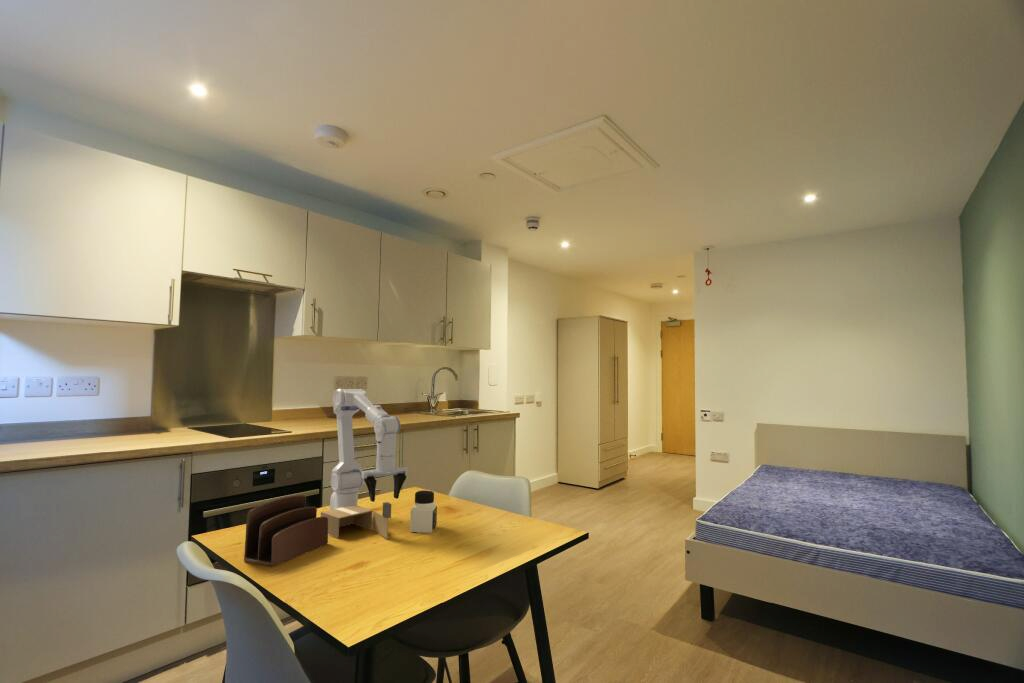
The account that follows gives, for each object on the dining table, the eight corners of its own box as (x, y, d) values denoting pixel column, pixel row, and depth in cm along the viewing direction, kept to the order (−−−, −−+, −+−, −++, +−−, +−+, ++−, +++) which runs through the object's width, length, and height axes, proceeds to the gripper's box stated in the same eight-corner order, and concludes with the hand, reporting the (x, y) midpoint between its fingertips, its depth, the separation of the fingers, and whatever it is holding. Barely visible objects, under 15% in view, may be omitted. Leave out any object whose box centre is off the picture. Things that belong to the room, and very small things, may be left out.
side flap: (386, 538, 145) (387, 505, 146) (372, 529, 155) (373, 497, 156) (391, 537, 146) (392, 504, 147) (377, 528, 156) (378, 497, 156)
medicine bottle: (432, 533, 152) (433, 493, 153) (409, 532, 152) (411, 493, 153) (436, 526, 159) (437, 489, 160) (414, 526, 160) (415, 488, 161)
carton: (319, 531, 152) (320, 511, 153) (354, 523, 161) (354, 504, 162) (337, 538, 146) (338, 517, 146) (371, 529, 155) (372, 509, 156)
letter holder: (242, 562, 127) (246, 506, 128) (301, 539, 145) (304, 491, 146) (271, 568, 123) (274, 510, 124) (328, 544, 141) (330, 494, 142)
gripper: (367, 458, 147) (365, 505, 146) (412, 455, 155) (411, 499, 154) (360, 455, 153) (358, 500, 152) (404, 452, 161) (402, 494, 160)
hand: (384, 499), depth 153 cm, fingers open, 7 cm apart
